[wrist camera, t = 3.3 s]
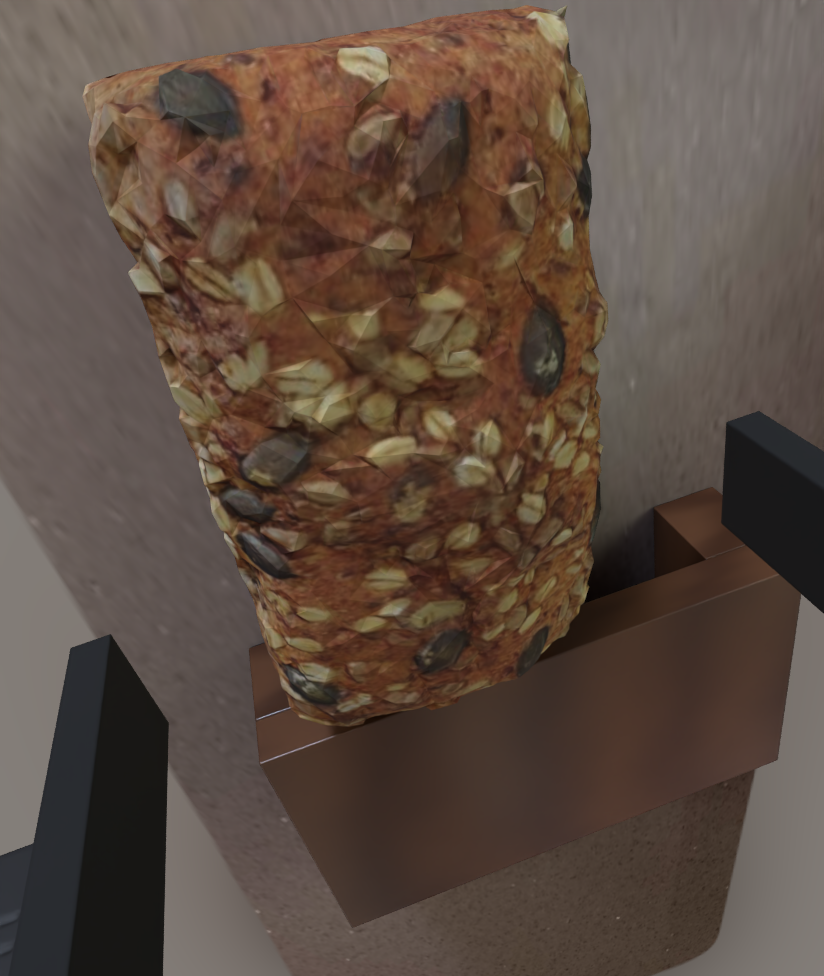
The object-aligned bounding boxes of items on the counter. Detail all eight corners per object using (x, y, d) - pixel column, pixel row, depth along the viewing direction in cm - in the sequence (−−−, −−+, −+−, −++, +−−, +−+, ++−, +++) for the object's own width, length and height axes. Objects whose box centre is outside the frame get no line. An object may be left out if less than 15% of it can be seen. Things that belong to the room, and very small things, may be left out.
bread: (104, 66, 19) (34, 77, 10) (485, 9, 20) (684, -20, 12) (270, 592, 29) (300, 807, 21) (513, 527, 30) (632, 702, 22)
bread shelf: (712, 486, 32) (806, 564, 27) (705, 672, 40) (778, 760, 35) (248, 647, 30) (258, 764, 25) (330, 813, 37) (352, 929, 32)
